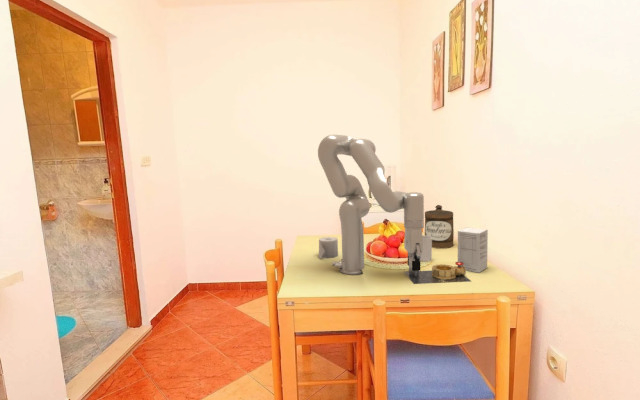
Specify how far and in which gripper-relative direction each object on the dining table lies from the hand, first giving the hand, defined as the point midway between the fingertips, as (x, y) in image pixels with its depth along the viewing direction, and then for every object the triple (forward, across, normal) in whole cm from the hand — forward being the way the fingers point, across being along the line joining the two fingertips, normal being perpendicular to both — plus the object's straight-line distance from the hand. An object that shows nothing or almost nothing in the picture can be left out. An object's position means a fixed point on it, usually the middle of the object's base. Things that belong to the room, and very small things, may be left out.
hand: (413, 267), depth 141 cm
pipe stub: (+3, 0, 0) cm, 3 cm away
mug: (+5, -21, +11) cm, 24 cm away
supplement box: (+5, -9, +28) cm, 30 cm away
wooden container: (+5, -49, +28) cm, 57 cm away
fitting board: (+4, +3, +8) cm, 10 cm away
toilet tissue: (+5, -36, -34) cm, 50 cm away
